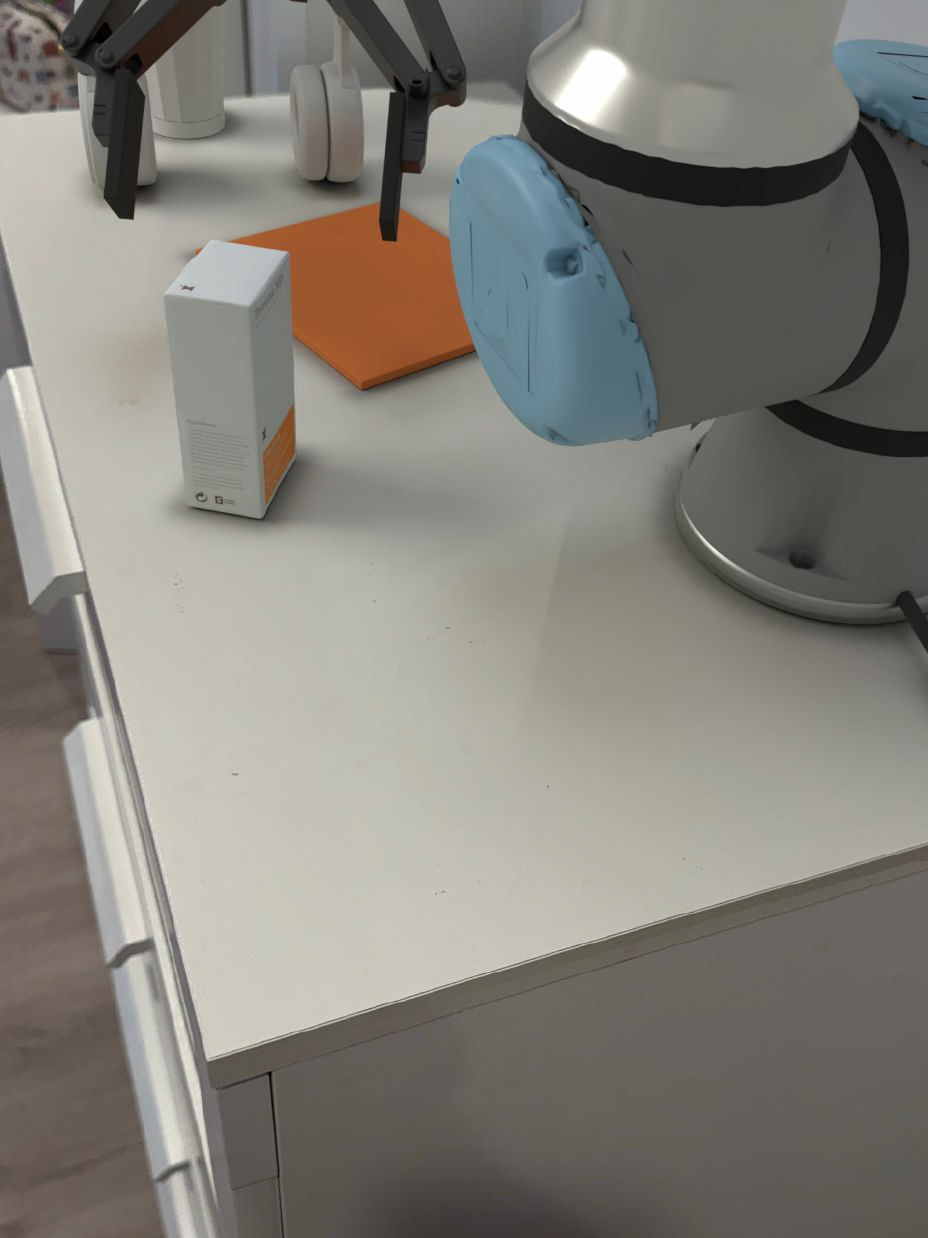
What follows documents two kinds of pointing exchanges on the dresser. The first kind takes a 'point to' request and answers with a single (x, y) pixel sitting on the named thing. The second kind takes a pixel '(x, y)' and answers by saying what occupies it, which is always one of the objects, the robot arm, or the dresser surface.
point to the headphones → (317, 111)
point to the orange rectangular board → (371, 294)
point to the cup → (190, 81)
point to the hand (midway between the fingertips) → (253, 221)
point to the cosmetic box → (233, 375)
